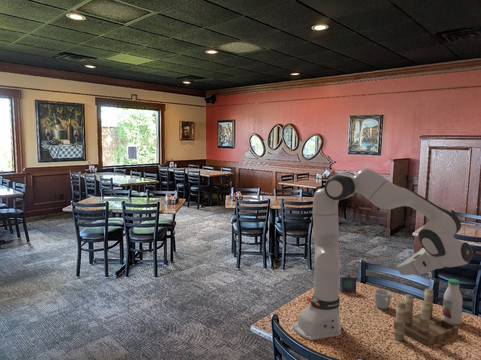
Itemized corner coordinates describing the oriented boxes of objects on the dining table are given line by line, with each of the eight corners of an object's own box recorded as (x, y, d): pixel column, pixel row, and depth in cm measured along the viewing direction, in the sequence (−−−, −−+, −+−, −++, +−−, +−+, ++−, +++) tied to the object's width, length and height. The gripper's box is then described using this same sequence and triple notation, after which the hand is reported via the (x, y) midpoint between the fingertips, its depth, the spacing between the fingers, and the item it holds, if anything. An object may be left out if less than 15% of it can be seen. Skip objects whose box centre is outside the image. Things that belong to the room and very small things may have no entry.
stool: (426, 346, 143) (428, 309, 141) (394, 328, 157) (395, 294, 156) (458, 333, 153) (460, 298, 151) (424, 317, 167) (426, 285, 165)
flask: (339, 292, 197) (340, 273, 196) (338, 290, 199) (339, 272, 199) (356, 292, 196) (357, 274, 195) (355, 290, 198) (355, 272, 198)
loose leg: (400, 341, 146) (401, 305, 145) (393, 337, 149) (394, 302, 148) (406, 339, 148) (407, 303, 146) (398, 335, 151) (400, 300, 149)
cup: (395, 313, 171) (396, 298, 170) (379, 313, 171) (380, 297, 171) (386, 303, 182) (387, 289, 181) (371, 303, 182) (372, 288, 181)
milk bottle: (458, 318, 166) (461, 278, 164) (463, 326, 159) (465, 284, 157) (440, 316, 168) (442, 276, 167) (444, 323, 161) (446, 282, 159)
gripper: (441, 239, 142) (414, 245, 155) (411, 261, 133) (385, 265, 145) (449, 254, 141) (421, 258, 154) (419, 276, 132) (392, 279, 144)
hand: (403, 261), depth 149 cm, fingers open, 8 cm apart
